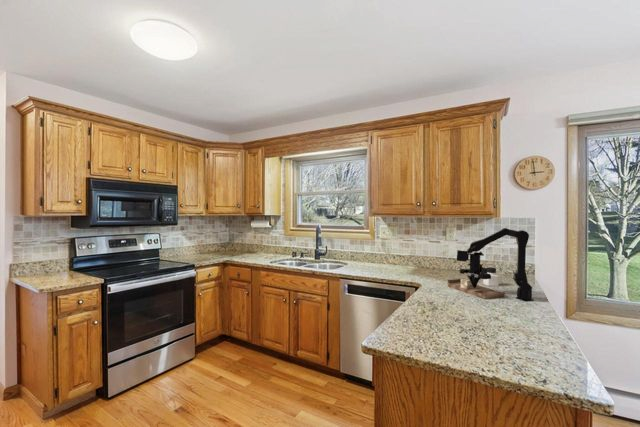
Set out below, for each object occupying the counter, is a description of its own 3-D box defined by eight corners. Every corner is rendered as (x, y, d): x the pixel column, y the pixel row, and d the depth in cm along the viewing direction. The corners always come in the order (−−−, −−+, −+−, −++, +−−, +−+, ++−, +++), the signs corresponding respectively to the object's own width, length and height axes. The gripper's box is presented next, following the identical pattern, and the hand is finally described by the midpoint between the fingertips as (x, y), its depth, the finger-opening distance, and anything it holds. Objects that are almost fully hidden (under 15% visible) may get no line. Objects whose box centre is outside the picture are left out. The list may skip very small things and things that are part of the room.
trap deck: (504, 297, 176) (504, 289, 176) (484, 299, 172) (484, 291, 172) (465, 284, 205) (465, 278, 205) (447, 286, 200) (447, 279, 200)
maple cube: (473, 288, 186) (473, 280, 186) (466, 289, 184) (466, 280, 184) (467, 286, 190) (466, 278, 190) (460, 287, 189) (460, 279, 189)
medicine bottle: (498, 286, 202) (499, 268, 202) (488, 286, 202) (488, 268, 202) (493, 283, 209) (493, 266, 209) (482, 283, 209) (483, 266, 209)
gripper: (498, 264, 177) (497, 290, 177) (473, 259, 195) (472, 283, 195) (483, 265, 173) (483, 291, 173) (459, 260, 191) (459, 284, 191)
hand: (474, 287), depth 183 cm, fingers closed
